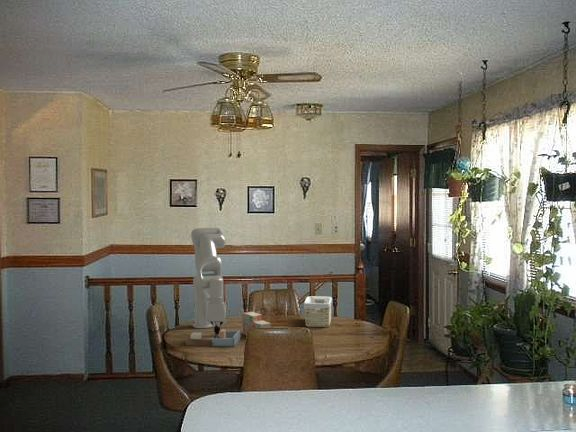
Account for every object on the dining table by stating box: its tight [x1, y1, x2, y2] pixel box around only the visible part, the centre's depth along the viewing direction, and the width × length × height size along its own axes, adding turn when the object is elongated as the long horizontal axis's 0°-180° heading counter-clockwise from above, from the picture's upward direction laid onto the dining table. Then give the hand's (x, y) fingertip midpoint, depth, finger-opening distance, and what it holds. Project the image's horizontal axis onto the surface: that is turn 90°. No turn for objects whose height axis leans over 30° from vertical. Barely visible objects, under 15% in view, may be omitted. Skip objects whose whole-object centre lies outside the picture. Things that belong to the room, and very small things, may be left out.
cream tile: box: [190, 331, 203, 339], centre depth 319 cm, size 5×5×2 cm
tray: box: [211, 328, 242, 348], centre depth 321 cm, size 18×12×5 cm, turn 173°
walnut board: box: [184, 332, 219, 347], centre depth 323 cm, size 16×14×3 cm
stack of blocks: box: [242, 311, 271, 336], centre depth 333 cm, size 21×6×12 cm, turn 32°
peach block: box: [218, 328, 227, 339], centre depth 325 cm, size 5×5×2 cm
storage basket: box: [303, 295, 333, 328], centre depth 366 cm, size 24×16×15 cm
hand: (217, 333), depth 326 cm, fingers closed
